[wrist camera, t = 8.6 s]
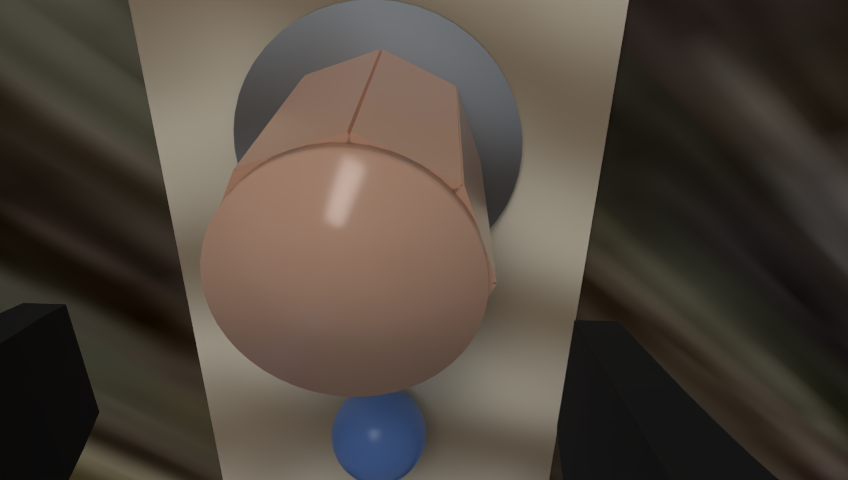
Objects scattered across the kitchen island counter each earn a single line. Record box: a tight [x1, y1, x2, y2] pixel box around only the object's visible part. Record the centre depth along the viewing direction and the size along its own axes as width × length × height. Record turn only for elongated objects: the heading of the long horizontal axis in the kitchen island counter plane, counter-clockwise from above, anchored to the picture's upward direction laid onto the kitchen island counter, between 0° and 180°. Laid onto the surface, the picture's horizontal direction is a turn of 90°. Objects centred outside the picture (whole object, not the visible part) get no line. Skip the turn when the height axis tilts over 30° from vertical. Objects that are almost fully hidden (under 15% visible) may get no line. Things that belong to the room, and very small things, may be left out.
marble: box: [331, 391, 426, 480], centre depth 20 cm, size 3×3×3 cm
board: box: [129, 0, 629, 480], centre depth 19 cm, size 20×12×1 cm, turn 179°
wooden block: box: [199, 49, 497, 397], centre depth 14 cm, size 5×5×6 cm
